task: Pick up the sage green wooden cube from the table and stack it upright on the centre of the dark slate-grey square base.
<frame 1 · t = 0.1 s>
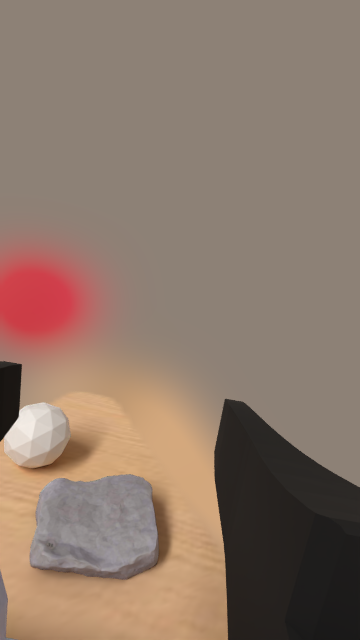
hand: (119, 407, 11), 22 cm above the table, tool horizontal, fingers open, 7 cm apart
stone block: (95, 543, 31), on the table
geometric ball: (35, 463, 41), on the table
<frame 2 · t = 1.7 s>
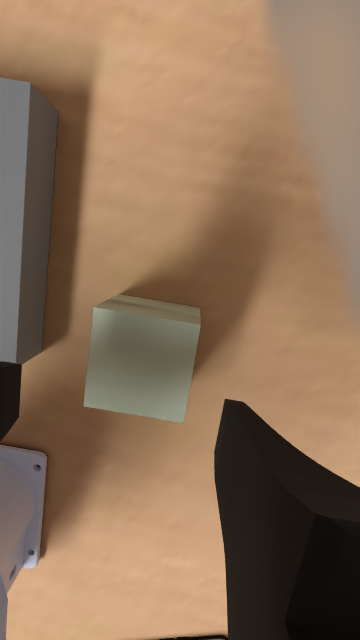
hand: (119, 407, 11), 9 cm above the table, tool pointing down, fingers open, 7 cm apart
sage green cube: (153, 339, 20), on the table
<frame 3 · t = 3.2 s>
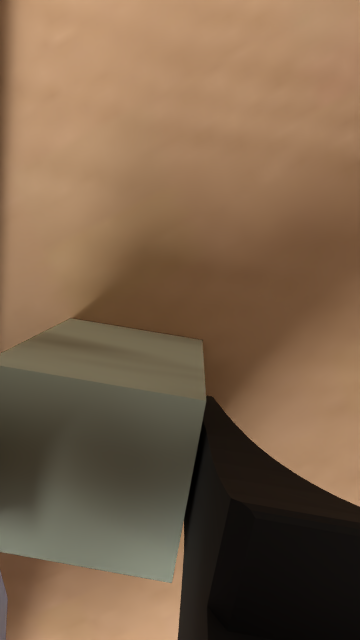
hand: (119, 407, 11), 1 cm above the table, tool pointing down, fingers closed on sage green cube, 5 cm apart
sage green cube: (128, 390, 12), on the table, touching gripper
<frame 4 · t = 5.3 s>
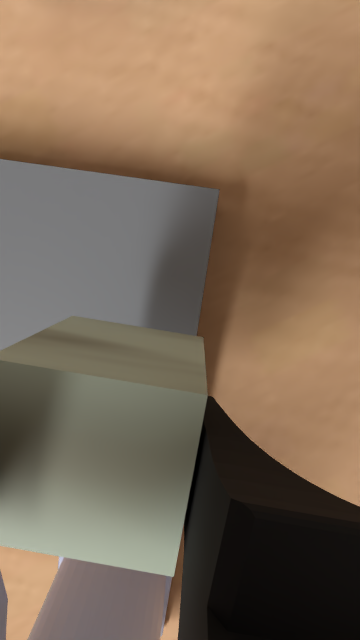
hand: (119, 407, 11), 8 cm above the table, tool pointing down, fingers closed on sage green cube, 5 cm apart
sage green cube: (129, 387, 12), point 7 cm above the table, touching gripper
stacking base: (81, 306, 19), on the table
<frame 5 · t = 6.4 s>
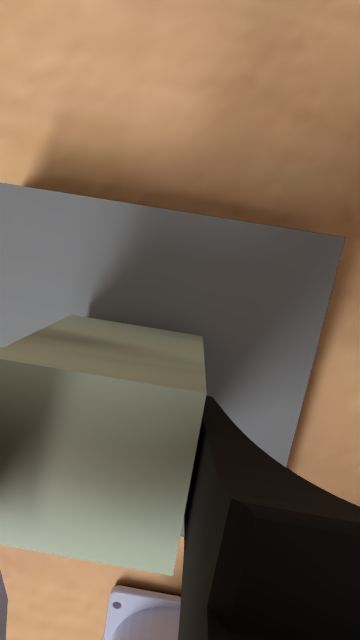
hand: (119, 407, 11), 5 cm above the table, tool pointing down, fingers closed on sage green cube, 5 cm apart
sage green cube: (128, 386, 12), point 4 cm above the table, touching gripper
stacking base: (144, 359, 16), on the table
when the fingers open (5 cm above the table, at t = 7.4 s): sage green cube stays where it is, resting on stacking base.
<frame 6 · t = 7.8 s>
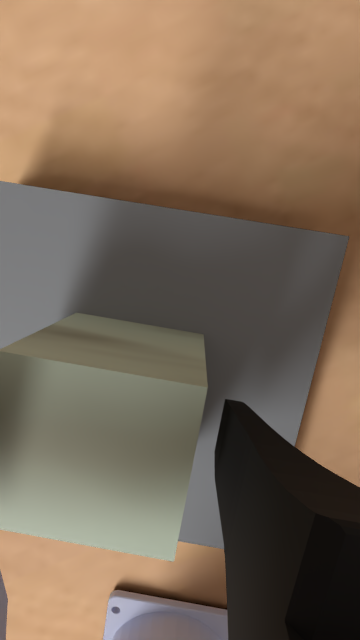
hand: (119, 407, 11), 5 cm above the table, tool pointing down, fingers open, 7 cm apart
sage green cube: (131, 382, 13), point 3 cm above the table, touching stacking base
stacking base: (143, 361, 16), on the table
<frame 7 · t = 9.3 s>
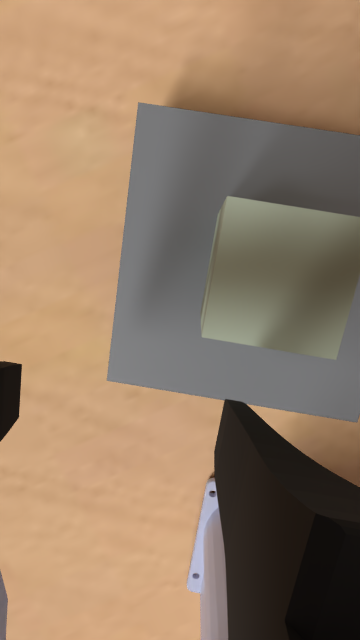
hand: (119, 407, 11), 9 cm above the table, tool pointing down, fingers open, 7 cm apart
sage green cube: (257, 273, 16), point 3 cm above the table, touching stacking base
stacking base: (247, 272, 19), on the table
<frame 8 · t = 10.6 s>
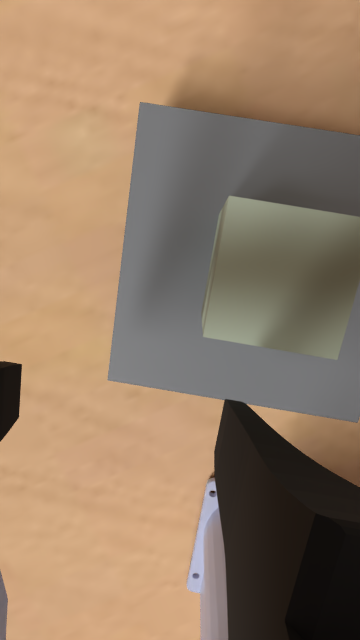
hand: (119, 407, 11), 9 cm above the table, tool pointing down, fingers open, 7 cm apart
sage green cube: (258, 273, 16), point 3 cm above the table, touching stacking base
stacking base: (248, 272, 19), on the table
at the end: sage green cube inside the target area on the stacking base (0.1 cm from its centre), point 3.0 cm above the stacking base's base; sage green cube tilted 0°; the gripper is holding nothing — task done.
